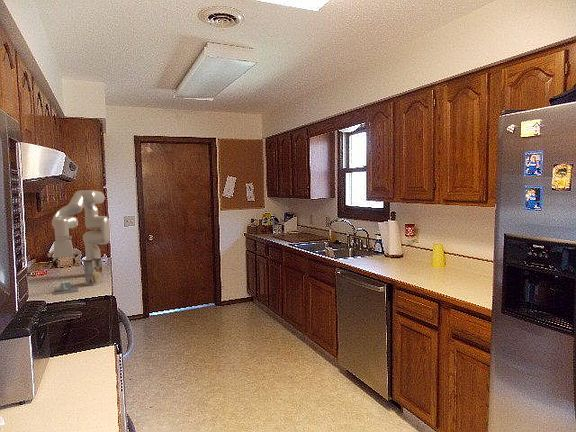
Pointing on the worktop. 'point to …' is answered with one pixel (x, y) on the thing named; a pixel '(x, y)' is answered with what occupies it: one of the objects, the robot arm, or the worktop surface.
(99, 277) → the coffee box
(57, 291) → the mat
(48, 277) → the worktop surface
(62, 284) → the letter cube
